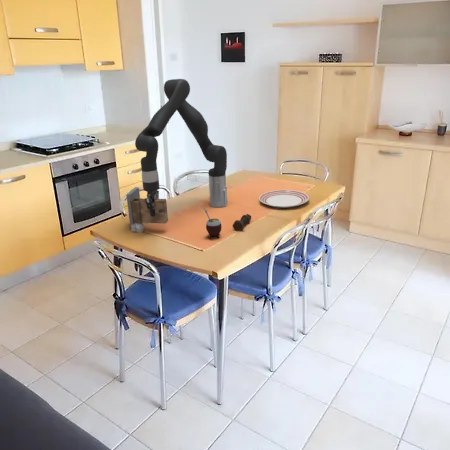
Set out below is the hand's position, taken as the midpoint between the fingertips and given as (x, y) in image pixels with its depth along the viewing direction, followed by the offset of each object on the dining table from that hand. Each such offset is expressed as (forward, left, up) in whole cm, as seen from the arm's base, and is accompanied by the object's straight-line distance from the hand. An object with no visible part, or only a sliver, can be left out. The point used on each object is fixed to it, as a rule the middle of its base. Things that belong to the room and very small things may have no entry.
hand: (154, 214), depth 203 cm
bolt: (-41, -10, -9) cm, 44 cm away
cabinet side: (+10, -5, -9) cm, 14 cm away
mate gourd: (-29, +5, -9) cm, 31 cm away
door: (+2, 0, -4) cm, 4 cm away
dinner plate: (-60, -46, -9) cm, 76 cm away
